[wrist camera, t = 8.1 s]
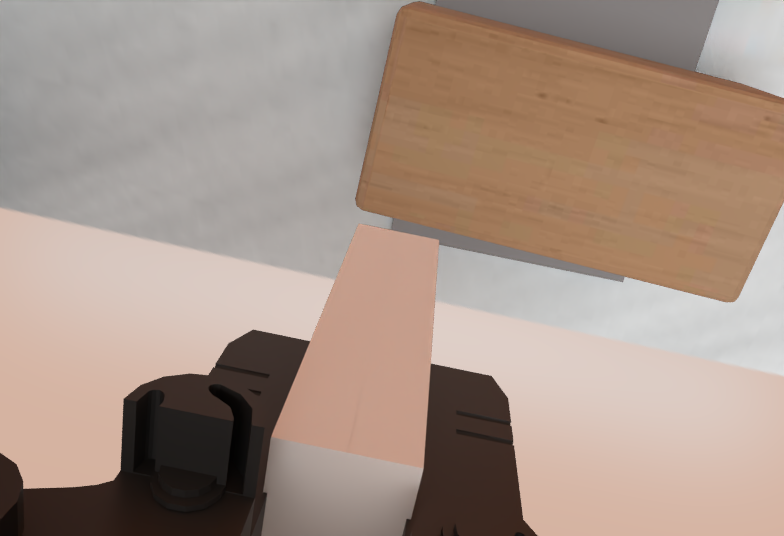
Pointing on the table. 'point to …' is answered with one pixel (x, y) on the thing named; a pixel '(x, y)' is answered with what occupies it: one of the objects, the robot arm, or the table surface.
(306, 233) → the table surface
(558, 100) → the wooden block
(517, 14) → the mat
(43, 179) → the table surface
